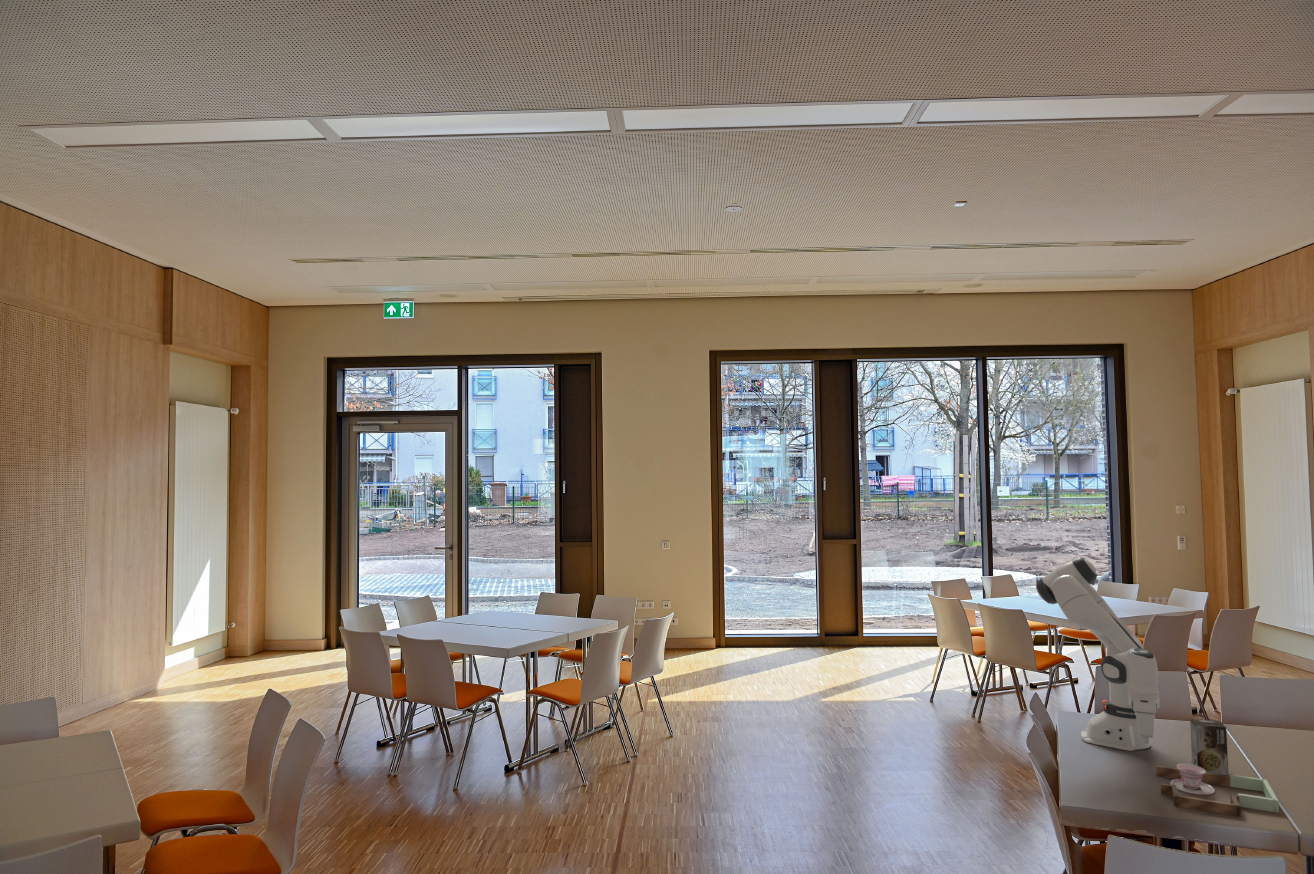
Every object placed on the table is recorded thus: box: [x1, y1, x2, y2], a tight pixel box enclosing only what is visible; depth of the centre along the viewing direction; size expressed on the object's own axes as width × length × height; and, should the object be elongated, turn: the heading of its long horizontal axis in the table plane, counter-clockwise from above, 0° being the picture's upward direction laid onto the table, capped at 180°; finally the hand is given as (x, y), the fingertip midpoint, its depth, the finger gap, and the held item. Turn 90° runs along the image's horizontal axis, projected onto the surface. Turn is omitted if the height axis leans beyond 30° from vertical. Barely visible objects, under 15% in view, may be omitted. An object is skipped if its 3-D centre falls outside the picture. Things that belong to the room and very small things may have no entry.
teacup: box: [1169, 762, 1216, 796], centre depth 255 cm, size 12×12×6 cm
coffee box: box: [1189, 718, 1230, 776], centre depth 268 cm, size 9×6×16 cm
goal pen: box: [1228, 774, 1280, 814], centre depth 246 cm, size 10×17×4 cm, turn 152°
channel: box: [1156, 765, 1242, 817], centre depth 249 cm, size 20×25×3 cm
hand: (1145, 742), depth 259 cm, fingers closed
